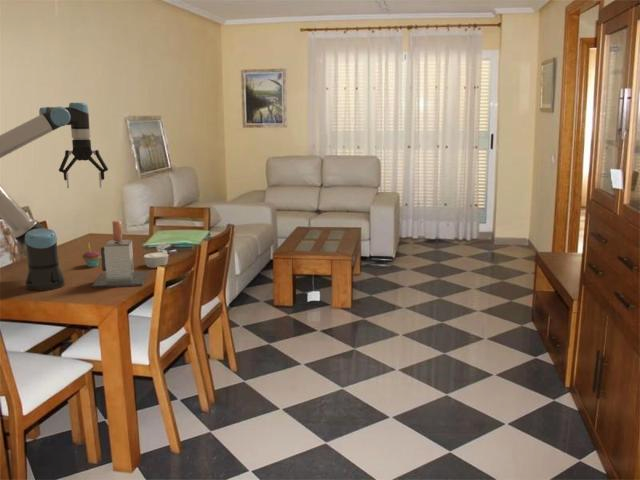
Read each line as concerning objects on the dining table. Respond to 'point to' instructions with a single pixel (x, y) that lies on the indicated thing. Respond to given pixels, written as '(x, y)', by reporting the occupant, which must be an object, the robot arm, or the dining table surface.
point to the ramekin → (156, 259)
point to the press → (118, 266)
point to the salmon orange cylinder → (117, 231)
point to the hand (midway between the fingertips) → (85, 187)
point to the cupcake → (91, 257)
